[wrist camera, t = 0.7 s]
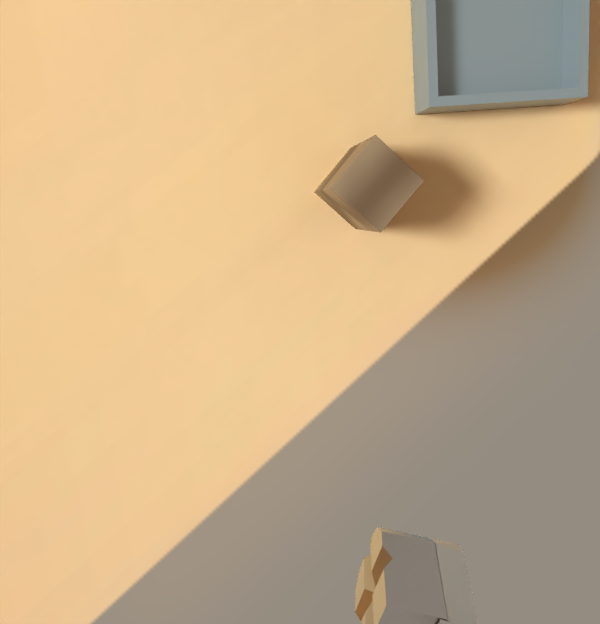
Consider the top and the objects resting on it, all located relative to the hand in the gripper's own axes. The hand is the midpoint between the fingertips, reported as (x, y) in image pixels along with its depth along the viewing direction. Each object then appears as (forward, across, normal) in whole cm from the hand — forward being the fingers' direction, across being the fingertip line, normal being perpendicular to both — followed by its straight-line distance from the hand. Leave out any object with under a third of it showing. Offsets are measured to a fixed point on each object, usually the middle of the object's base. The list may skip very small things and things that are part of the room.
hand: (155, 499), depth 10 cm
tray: (+48, -13, -13) cm, 51 cm away
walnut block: (+42, -4, +3) cm, 42 cm away
